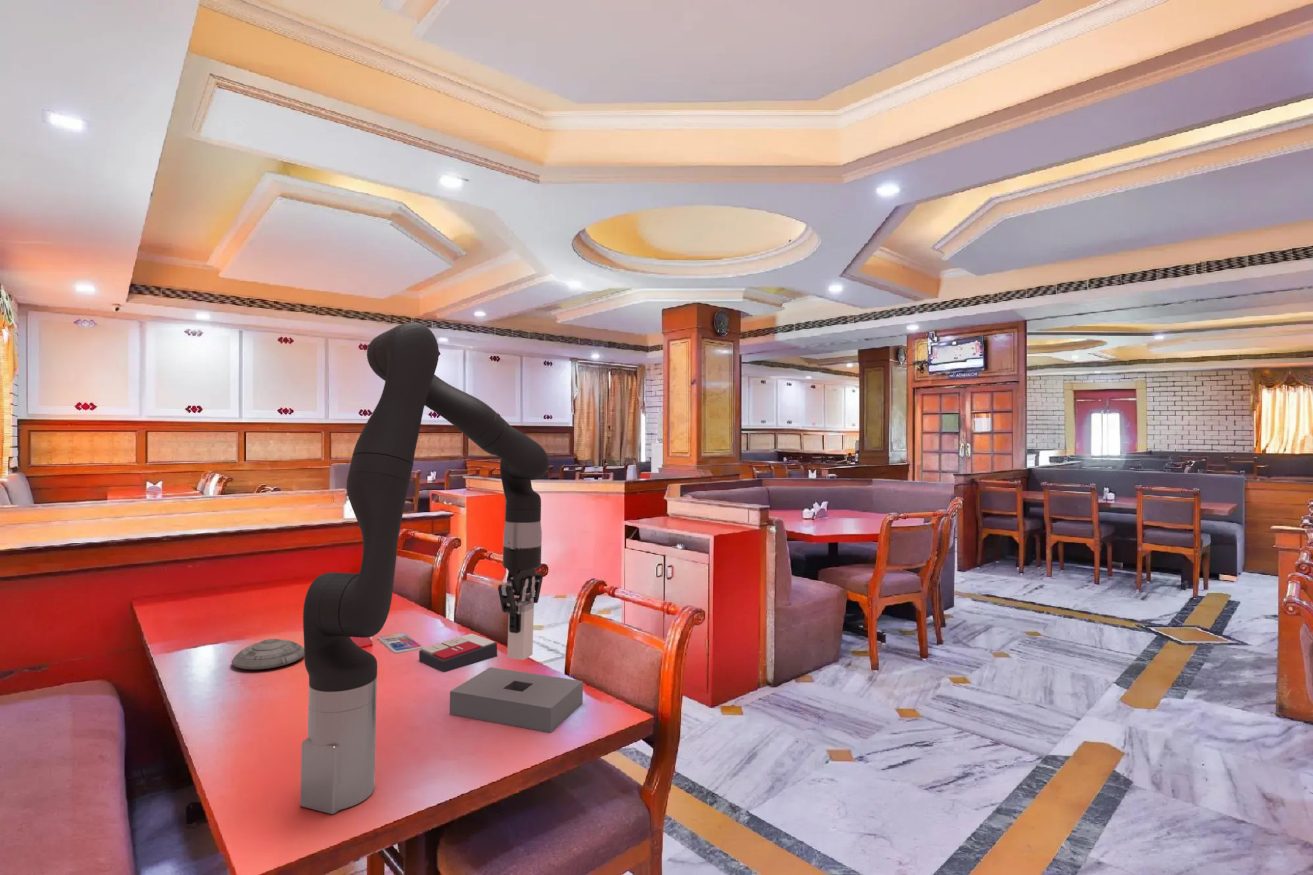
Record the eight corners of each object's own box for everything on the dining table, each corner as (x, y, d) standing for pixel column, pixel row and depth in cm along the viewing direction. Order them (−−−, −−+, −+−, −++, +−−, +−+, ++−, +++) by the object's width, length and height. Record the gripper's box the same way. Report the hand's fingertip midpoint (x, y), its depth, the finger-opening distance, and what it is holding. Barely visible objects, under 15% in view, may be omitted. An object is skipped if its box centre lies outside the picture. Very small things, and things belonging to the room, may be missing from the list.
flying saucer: (246, 679, 139) (247, 654, 139) (221, 663, 148) (221, 640, 148) (317, 661, 151) (317, 638, 151) (289, 648, 160) (289, 626, 160)
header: (550, 732, 116) (551, 708, 116) (449, 714, 123) (450, 691, 123) (582, 702, 130) (583, 681, 130) (489, 687, 136) (490, 667, 136)
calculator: (418, 647, 152) (472, 630, 163) (418, 665, 152) (472, 647, 163) (443, 658, 145) (497, 639, 156) (443, 676, 145) (498, 656, 156)
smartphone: (405, 631, 173) (424, 646, 161) (405, 635, 173) (424, 650, 161) (376, 636, 168) (394, 651, 156) (376, 639, 168) (394, 655, 156)
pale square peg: (523, 660, 124) (524, 606, 124) (507, 657, 125) (508, 604, 125) (532, 654, 127) (533, 601, 127) (516, 652, 128) (518, 600, 129)
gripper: (524, 537, 134) (522, 618, 134) (486, 547, 121) (483, 637, 121) (555, 540, 132) (553, 622, 132) (520, 550, 119) (518, 641, 118)
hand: (520, 629), depth 126 cm, fingers closed on pale square peg, 3 cm apart
